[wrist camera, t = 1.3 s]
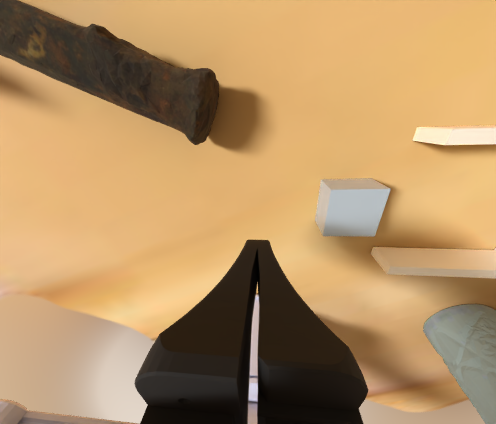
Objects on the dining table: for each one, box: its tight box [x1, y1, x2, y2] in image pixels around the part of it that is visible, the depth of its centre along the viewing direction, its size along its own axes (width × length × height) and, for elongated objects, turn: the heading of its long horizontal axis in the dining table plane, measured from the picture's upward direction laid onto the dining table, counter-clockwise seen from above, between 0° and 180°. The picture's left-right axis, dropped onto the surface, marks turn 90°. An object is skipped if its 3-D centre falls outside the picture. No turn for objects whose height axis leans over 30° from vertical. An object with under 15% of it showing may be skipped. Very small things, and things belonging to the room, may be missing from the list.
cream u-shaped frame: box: [371, 125, 496, 278], centre depth 15 cm, size 13×13×3 cm
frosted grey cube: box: [315, 178, 391, 236], centre depth 16 cm, size 4×4×3 cm
